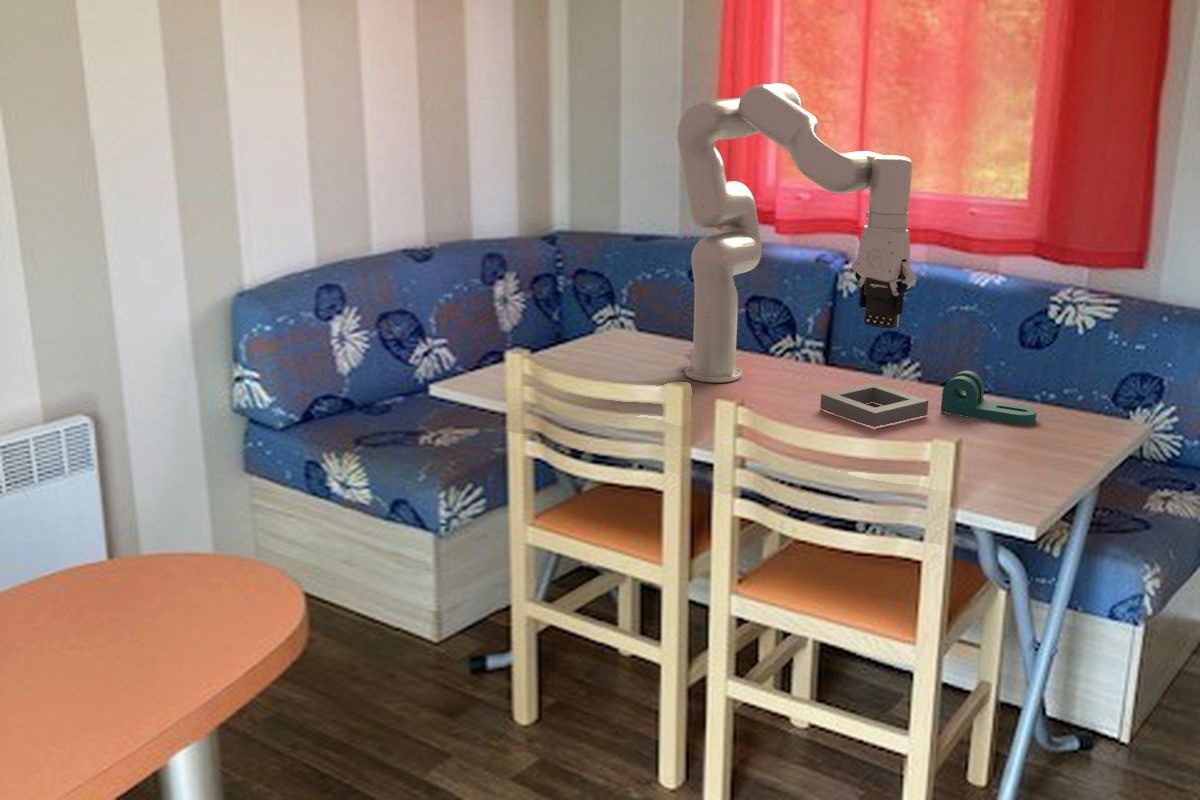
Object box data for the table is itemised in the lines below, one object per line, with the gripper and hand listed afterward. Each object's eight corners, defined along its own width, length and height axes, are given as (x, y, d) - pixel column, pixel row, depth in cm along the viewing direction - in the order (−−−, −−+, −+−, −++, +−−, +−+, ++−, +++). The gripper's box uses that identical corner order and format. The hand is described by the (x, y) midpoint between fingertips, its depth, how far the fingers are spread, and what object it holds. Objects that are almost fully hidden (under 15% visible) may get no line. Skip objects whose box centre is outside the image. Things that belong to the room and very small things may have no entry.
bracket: (940, 413, 250) (944, 376, 248) (949, 404, 256) (952, 368, 253) (1031, 427, 242) (1036, 389, 239) (1038, 418, 247) (1043, 381, 245)
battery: (859, 325, 244) (863, 269, 240) (867, 322, 247) (871, 266, 243) (892, 331, 240) (897, 273, 237) (899, 327, 243) (904, 270, 240)
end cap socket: (820, 410, 251) (821, 393, 250) (872, 398, 259) (873, 382, 258) (873, 430, 239) (875, 413, 238) (926, 417, 247) (928, 400, 246)
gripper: (841, 216, 242) (835, 304, 247) (907, 229, 228) (899, 322, 234) (868, 213, 246) (862, 299, 251) (935, 226, 232) (927, 317, 238)
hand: (880, 309), depth 243 cm, fingers closed on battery, 7 cm apart
